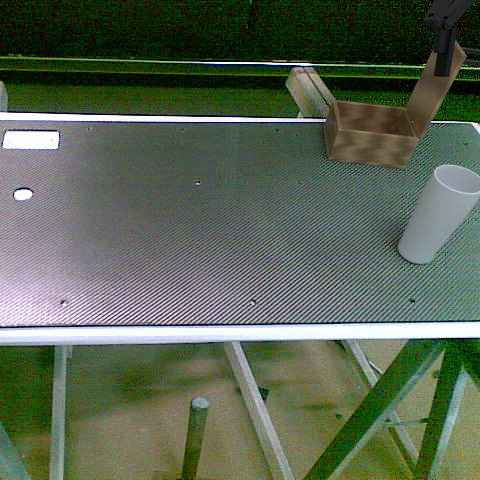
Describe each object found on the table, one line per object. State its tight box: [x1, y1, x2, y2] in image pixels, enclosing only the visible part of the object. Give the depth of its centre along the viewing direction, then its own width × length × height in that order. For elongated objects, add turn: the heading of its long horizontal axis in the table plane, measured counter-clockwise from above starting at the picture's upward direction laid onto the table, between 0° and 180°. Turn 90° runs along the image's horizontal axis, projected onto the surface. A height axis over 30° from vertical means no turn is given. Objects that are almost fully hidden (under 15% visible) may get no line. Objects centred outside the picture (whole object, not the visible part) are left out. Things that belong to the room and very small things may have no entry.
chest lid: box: [405, 39, 480, 139], centre depth 85 cm, size 15×12×10 cm
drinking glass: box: [397, 164, 480, 265], centre depth 70 cm, size 7×7×15 cm
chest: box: [322, 99, 421, 170], centre depth 94 cm, size 15×12×7 cm
